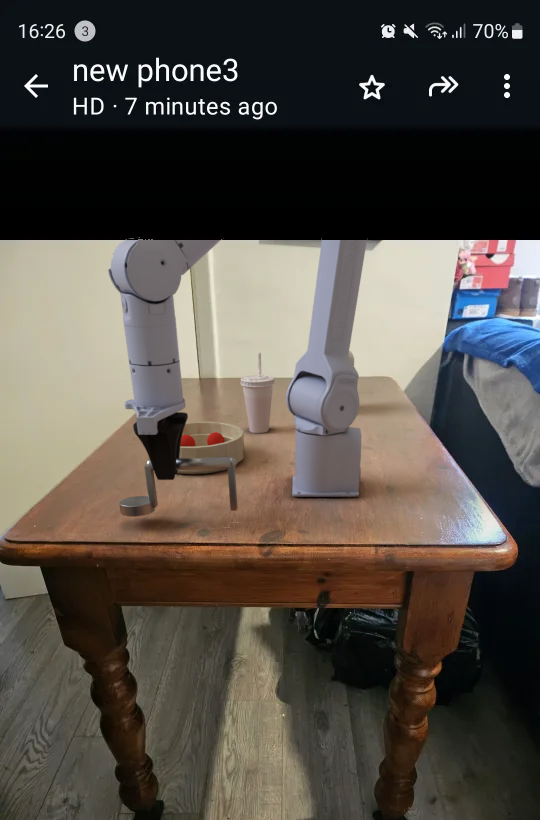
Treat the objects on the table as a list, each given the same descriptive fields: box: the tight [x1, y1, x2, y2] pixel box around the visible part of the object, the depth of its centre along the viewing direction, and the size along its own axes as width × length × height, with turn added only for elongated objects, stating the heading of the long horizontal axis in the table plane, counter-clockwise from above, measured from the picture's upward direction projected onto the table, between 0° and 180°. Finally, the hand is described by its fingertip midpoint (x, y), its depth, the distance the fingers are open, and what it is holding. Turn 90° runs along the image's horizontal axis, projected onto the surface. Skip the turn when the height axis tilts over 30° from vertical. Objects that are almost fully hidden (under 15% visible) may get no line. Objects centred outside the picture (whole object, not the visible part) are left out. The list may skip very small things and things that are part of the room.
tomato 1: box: [180, 435, 195, 447], centre depth 99 cm, size 3×3×3 cm
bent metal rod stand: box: [118, 457, 239, 518], centre depth 74 cm, size 16×4×7 cm, turn 87°
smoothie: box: [240, 352, 276, 434], centre depth 110 cm, size 6×6×14 cm
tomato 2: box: [207, 432, 224, 445], centre depth 100 cm, size 3×3×3 cm
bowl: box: [177, 421, 245, 475], centre depth 97 cm, size 15×15×4 cm
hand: (167, 476), depth 73 cm, fingers closed on bent metal rod stand
